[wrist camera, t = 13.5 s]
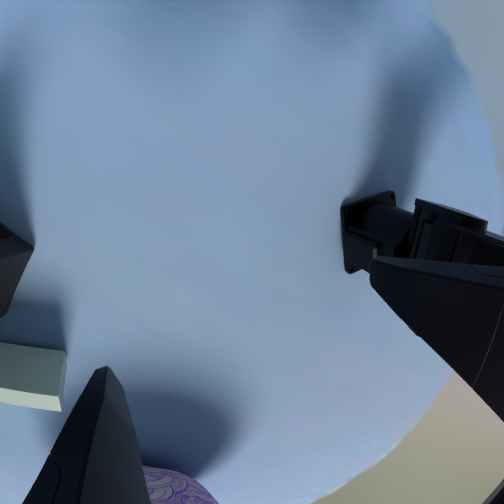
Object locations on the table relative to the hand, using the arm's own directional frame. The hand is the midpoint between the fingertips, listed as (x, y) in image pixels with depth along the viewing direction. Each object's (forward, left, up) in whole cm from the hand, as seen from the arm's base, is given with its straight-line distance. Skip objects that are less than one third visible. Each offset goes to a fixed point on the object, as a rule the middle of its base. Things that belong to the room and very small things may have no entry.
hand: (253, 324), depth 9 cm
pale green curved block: (+18, +5, -13) cm, 23 cm away
